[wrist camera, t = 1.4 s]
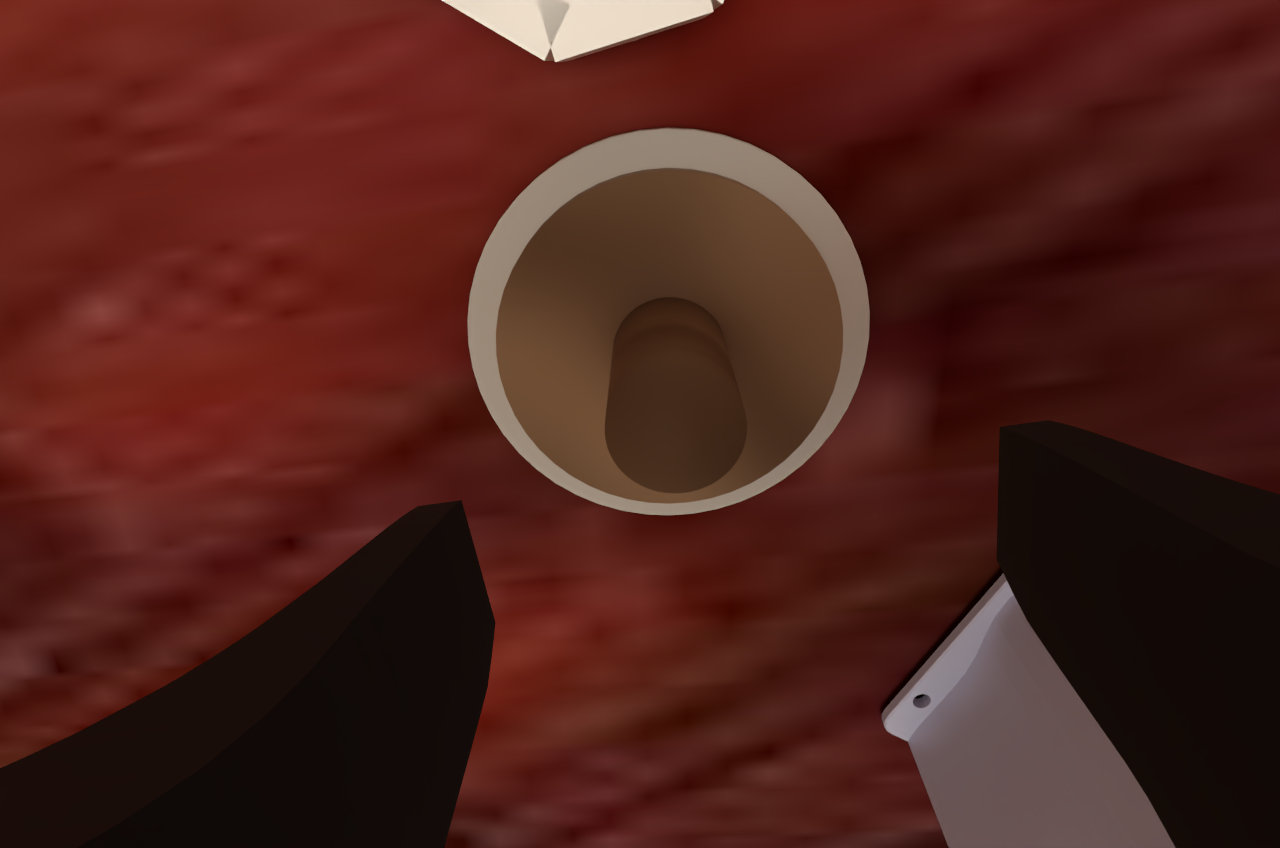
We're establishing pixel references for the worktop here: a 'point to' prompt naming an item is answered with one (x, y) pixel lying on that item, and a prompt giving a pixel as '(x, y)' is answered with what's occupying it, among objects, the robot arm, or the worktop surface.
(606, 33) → the bowl
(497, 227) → the coaster
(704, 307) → the lid
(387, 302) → the worktop surface
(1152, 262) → the worktop surface
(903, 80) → the worktop surface
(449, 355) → the worktop surface
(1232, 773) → the robot arm
